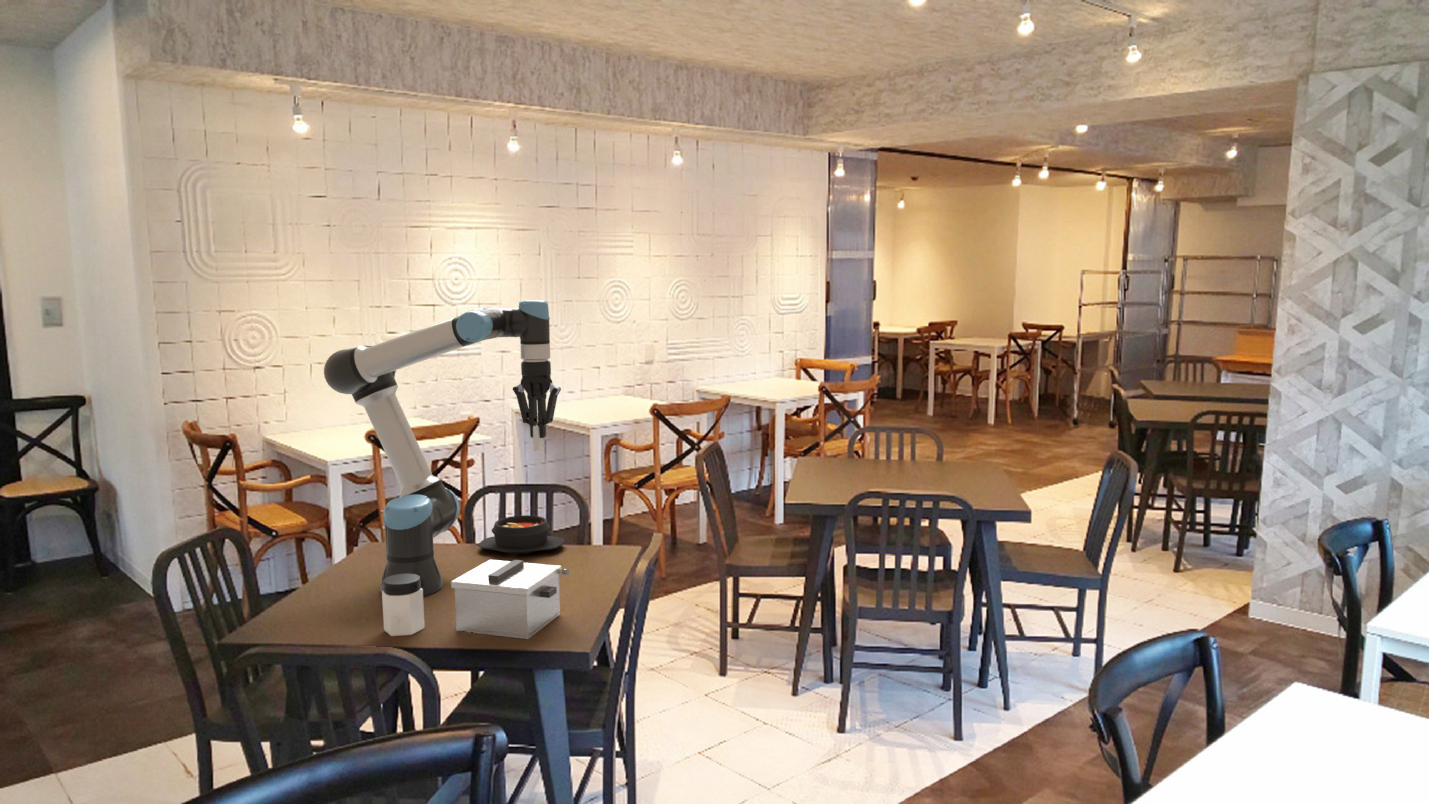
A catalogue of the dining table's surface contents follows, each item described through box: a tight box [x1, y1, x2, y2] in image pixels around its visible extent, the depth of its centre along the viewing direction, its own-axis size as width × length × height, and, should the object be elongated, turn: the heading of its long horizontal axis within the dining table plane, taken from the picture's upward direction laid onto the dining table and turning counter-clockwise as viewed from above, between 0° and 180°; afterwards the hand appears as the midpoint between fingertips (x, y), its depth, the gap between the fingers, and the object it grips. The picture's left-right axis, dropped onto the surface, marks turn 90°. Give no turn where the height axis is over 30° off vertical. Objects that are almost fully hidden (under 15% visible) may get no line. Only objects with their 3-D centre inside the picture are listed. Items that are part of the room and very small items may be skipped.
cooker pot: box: [454, 568, 570, 640], centre depth 223 cm, size 18×23×11 cm
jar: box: [381, 573, 425, 637], centre depth 219 cm, size 9×8×12 cm
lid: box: [450, 559, 563, 595], centre depth 222 cm, size 17×19×3 cm
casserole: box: [478, 514, 565, 555], centre depth 282 cm, size 25×19×8 cm
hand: (538, 449), depth 252 cm, fingers closed
